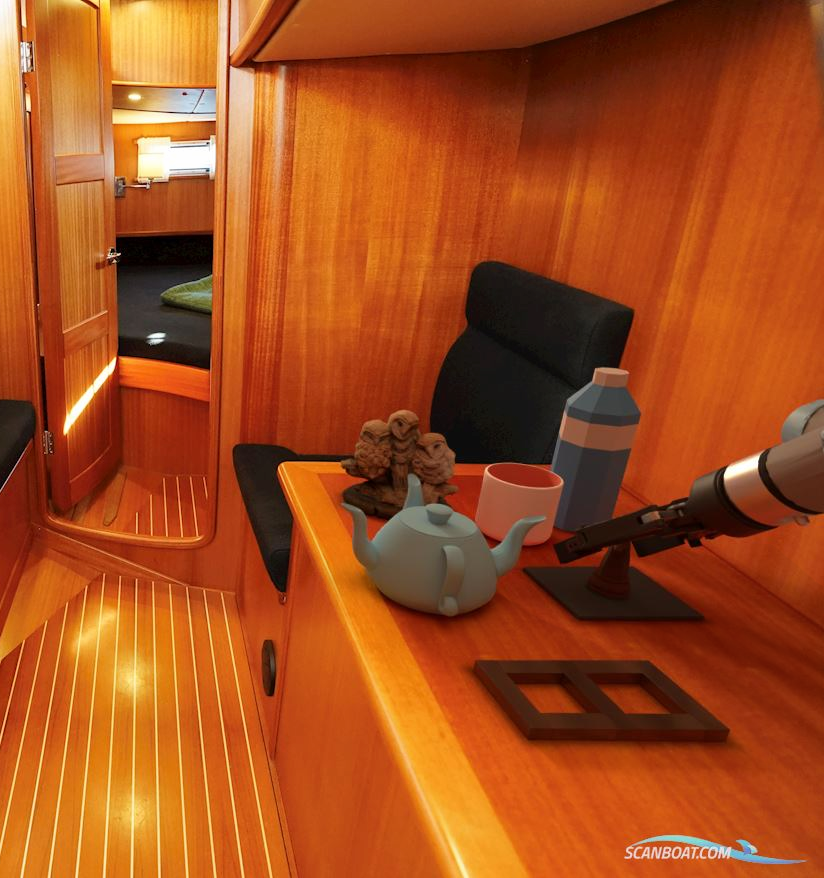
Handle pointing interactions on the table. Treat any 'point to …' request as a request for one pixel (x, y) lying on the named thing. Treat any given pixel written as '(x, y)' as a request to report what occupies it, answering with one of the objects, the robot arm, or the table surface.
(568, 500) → the water bottle
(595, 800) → the table surface
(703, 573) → the table surface
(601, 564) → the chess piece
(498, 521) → the cup
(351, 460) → the owl figurine
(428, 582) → the teapot
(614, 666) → the rack
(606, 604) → the felt mat
